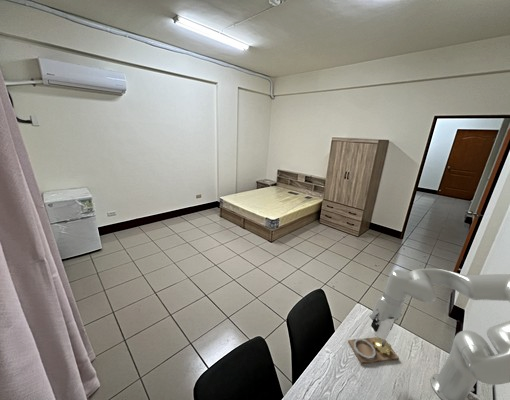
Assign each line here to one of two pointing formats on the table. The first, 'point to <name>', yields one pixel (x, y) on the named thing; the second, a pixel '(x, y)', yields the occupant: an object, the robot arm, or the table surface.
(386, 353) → the gear
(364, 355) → the ring
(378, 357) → the gear board
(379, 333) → the can
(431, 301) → the robot arm
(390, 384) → the table surface
